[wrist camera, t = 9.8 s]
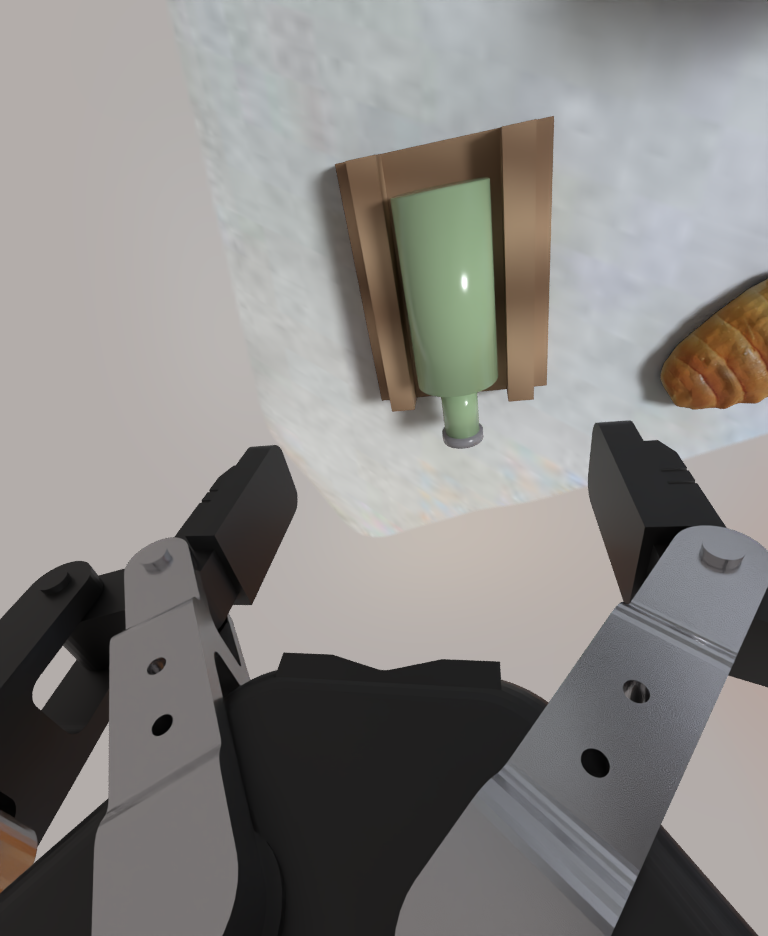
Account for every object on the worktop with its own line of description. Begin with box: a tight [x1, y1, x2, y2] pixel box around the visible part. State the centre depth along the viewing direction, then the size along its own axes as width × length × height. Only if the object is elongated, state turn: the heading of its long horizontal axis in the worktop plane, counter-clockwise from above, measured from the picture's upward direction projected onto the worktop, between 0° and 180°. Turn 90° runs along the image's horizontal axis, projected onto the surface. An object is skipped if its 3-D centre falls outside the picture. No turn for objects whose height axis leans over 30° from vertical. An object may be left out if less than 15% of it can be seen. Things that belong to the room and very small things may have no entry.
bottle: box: [390, 178, 498, 449], centre depth 26 cm, size 14×5×5 cm, turn 10°
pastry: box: [660, 279, 768, 409], centre depth 26 cm, size 9×7×4 cm
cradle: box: [335, 116, 554, 412], centre depth 26 cm, size 14×11×3 cm
